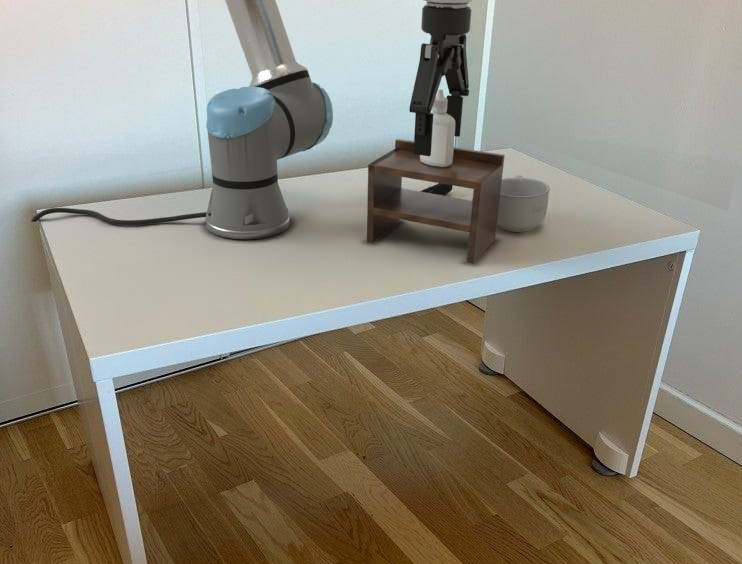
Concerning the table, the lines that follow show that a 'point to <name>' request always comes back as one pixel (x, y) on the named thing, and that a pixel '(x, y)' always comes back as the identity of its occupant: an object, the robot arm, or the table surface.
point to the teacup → (522, 203)
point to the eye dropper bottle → (441, 135)
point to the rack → (435, 209)
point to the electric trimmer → (438, 189)
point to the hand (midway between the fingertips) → (437, 144)
